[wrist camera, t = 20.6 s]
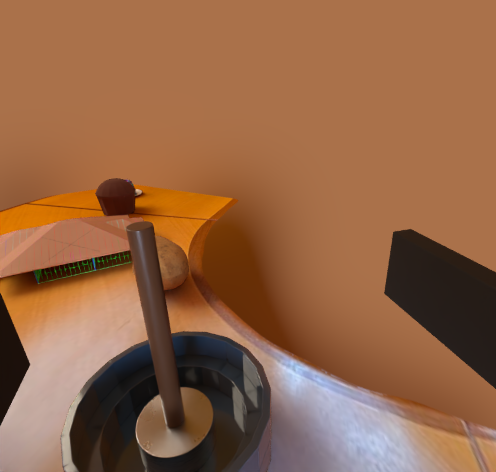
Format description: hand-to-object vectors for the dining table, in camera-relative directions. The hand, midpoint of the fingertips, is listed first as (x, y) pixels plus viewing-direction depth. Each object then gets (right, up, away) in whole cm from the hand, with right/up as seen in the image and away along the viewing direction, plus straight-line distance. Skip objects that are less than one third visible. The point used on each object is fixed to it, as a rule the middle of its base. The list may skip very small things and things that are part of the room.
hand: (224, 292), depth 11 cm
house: (-38, -2, +60) cm, 71 cm away
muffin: (-38, +9, +87) cm, 96 cm away
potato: (-14, -7, +47) cm, 50 cm away
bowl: (-6, -18, +20) cm, 28 cm away
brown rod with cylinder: (-6, -18, +20) cm, 27 cm away
